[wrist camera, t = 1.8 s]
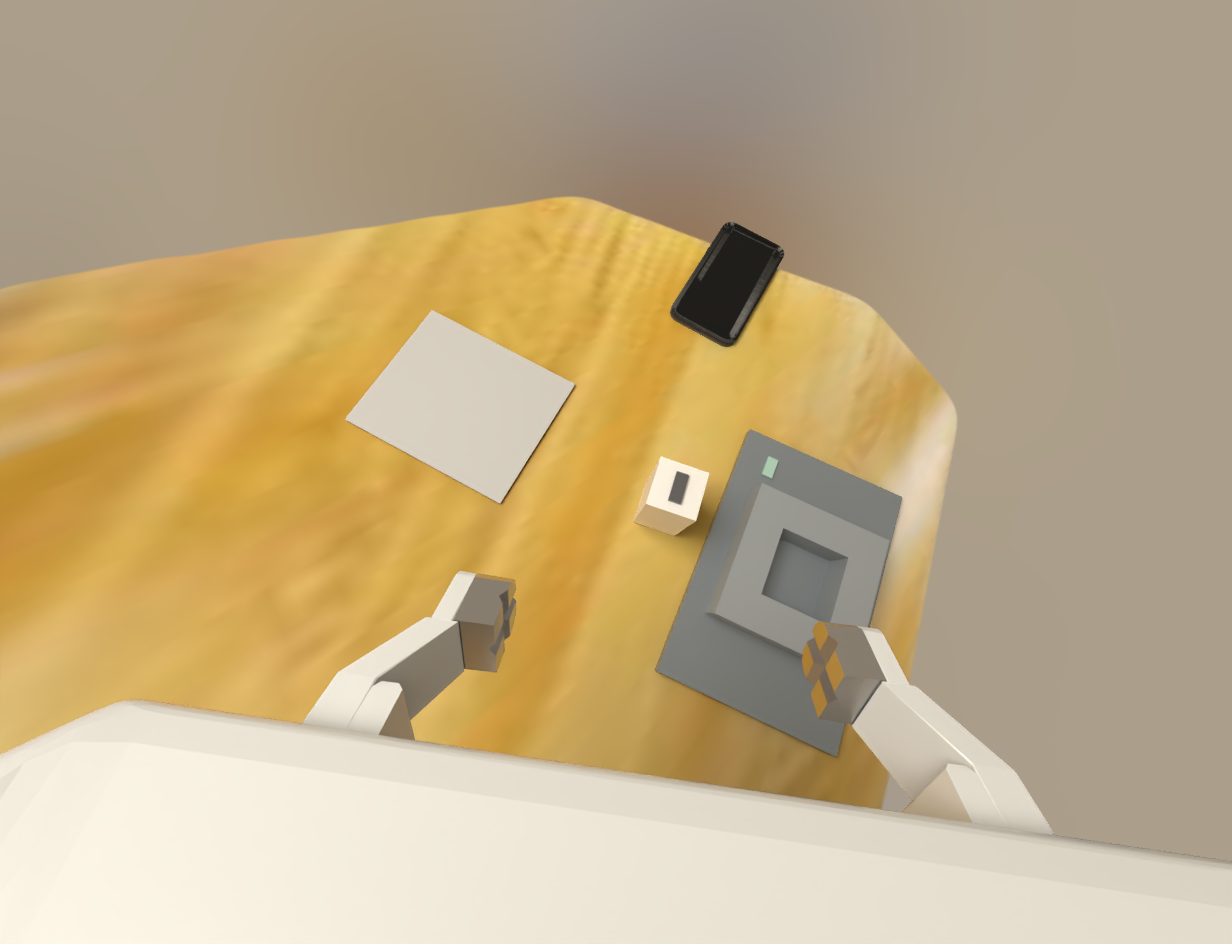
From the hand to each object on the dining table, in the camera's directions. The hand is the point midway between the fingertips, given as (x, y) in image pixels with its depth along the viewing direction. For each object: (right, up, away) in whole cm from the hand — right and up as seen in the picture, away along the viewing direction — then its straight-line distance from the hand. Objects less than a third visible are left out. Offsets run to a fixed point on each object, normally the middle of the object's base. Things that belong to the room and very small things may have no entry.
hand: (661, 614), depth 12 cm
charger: (+3, 0, +30) cm, 30 cm away
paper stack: (-10, +12, +33) cm, 36 cm away
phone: (+11, +25, +38) cm, 47 cm away
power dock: (+14, -6, +29) cm, 33 cm away
